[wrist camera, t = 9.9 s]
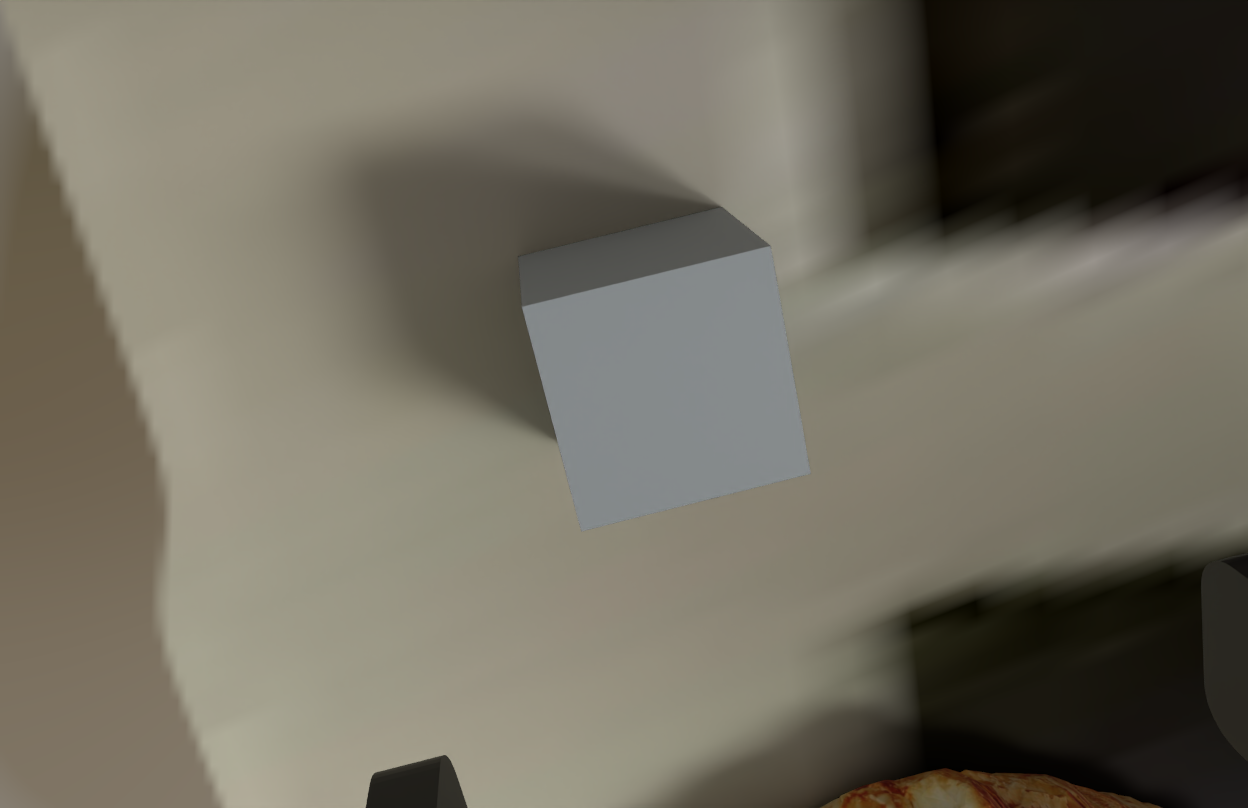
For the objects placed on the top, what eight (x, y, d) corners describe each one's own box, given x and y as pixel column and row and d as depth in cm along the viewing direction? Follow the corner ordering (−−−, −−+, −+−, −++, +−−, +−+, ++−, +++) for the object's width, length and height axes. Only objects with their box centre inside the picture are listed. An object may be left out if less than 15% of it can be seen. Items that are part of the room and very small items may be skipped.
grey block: (757, 397, 27) (811, 473, 23) (567, 444, 27) (581, 531, 22) (720, 206, 26) (770, 245, 21) (518, 255, 25) (522, 306, 21)
